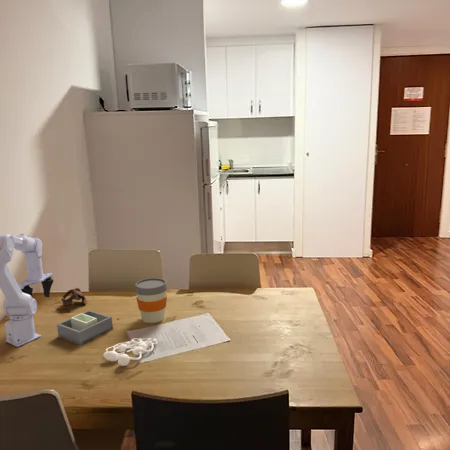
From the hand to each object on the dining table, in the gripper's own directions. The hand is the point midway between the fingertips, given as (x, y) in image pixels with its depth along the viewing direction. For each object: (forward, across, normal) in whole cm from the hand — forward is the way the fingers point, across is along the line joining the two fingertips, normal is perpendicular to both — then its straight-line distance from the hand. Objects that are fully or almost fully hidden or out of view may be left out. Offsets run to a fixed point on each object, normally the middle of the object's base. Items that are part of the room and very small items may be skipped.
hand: (38, 300), depth 178 cm
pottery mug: (+10, +19, +2) cm, 22 cm away
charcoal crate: (+9, +2, -24) cm, 26 cm away
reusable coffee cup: (+10, +24, -39) cm, 46 cm away
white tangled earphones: (+10, -2, -50) cm, 51 cm away
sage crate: (+8, +1, -24) cm, 25 cm away
